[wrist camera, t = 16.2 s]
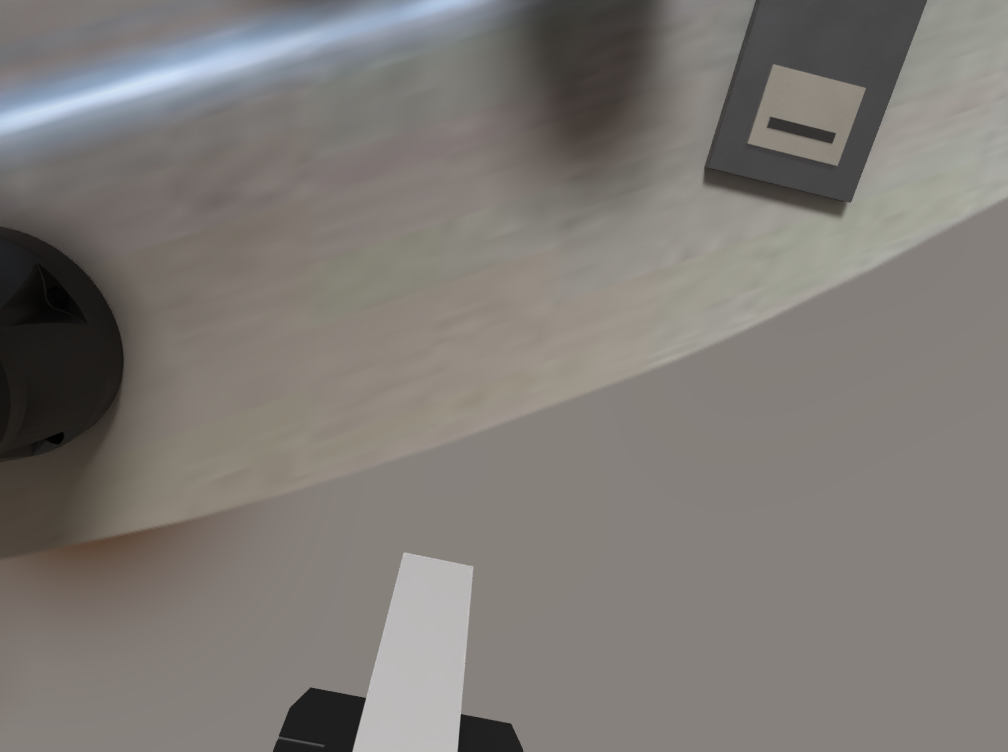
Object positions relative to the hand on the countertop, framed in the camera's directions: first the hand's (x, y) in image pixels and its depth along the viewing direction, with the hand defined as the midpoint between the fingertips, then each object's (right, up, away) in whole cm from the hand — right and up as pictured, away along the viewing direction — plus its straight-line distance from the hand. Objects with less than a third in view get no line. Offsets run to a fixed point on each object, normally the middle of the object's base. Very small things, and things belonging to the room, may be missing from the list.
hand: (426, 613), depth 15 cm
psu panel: (+20, +25, +26) cm, 41 cm away
